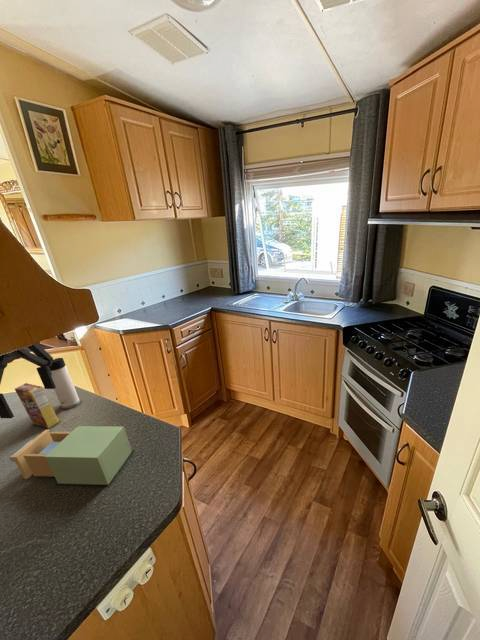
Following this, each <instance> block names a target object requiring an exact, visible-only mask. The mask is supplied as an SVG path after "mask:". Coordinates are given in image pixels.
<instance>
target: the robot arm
mask: <svg viewBox="0 0 480 640" xmlns="http://www.w3.org/2000/svg"><path fill="white" fill-rule="evenodd" d="M20 358H21V359H23V360H25V361H27V362H29V363H31V364H34V365H36V366H38V367H36V371H37V373H38V376H39V379H40V381H41V383H42V385H43V388H44V390H54V389H55V388H56V386H55V384H54V381H53V379H52V377H51V376H52V373H51V371H50V368H49V366H51V365H52V363H51V361H53V360H54V357H53V356H52V355H51V354H50V353H49V352H48V351H47V350H46V349H44V348H43V347H42V345H40V344H39V343H38V344H35V345H32V346H29V347H27V349H26V348H24V347H23V349H20V350H17V351H14V352H12V353H8V354H5V355H2V356H0V385H1V384H2V380H3V376H4V372H5V369H6V368H7V366H8V364H11V363H13V362H14V361H15V360H19V359H20ZM14 417H15V415H14V414H13V411H12V410H11V408H10V405H9V403H8V402H7V400H6V398H5V396H4V394H3V393H0V419H13V418H14Z"/></svg>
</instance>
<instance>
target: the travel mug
mask: <svg viewBox="0 0 480 640" xmlns="http://www.w3.org/2000/svg"><path fill="white" fill-rule="evenodd" d="M51 363H52V365H51V366H49V368H50V371H51V373H52V376H51V377H52V379H53V381H54V384H55V386H56V388H55V389H53V390H54V392H55V395H56V396H57V400H58V402H59V404H60V406H61V408H62V409H72V408H74V407H77V406H78V405H79V404H80V403H81V400H80V397H79V395H78V393H77V390H76V387H75V385H74V382H73V380H72V377H71V375H70V372H69V369H68V367H67V364H66V363H65V360H64V358H63V357H56V358H54V359H53V361H51Z"/></svg>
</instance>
